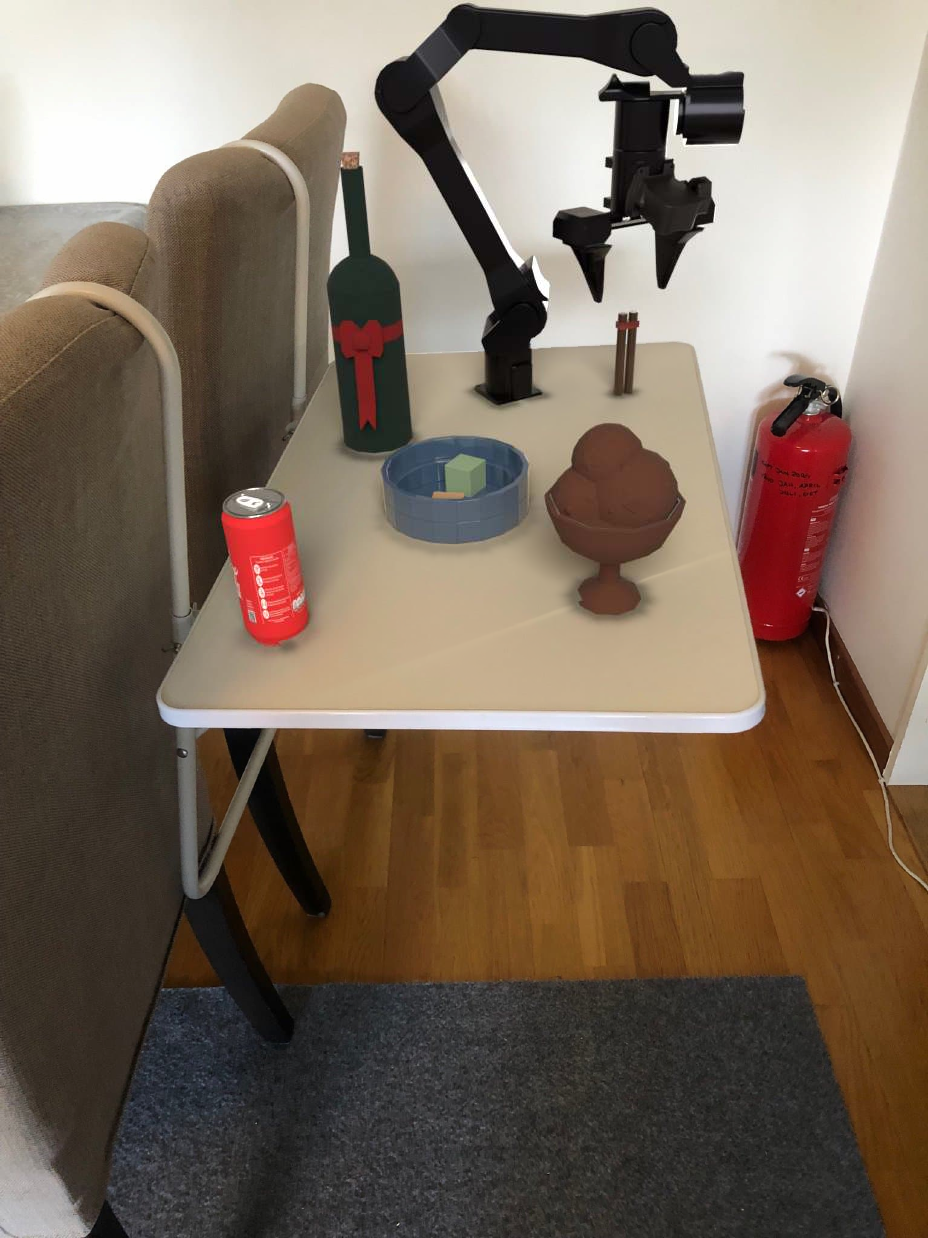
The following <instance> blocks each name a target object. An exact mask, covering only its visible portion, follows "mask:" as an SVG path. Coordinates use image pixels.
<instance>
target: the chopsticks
mask: <svg viewBox="0 0 928 1238" xmlns="http://www.w3.org/2000/svg"><path fill="white" fill-rule="evenodd" d="M640 322H641V321H640V320H639V311H638V310H636V309H631V310H629V311H628V312H626V311H620V312H617V320H615V328H616V345H615V362H614V379H613V395H615V396H621V395H623V393H624V394H633V392H634V391H633V388H634V374H635V362H636V349H637V348H636V347H637V334H638V328H640Z"/></svg>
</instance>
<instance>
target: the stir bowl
mask: <svg viewBox="0 0 928 1238" xmlns="http://www.w3.org/2000/svg"><path fill="white" fill-rule="evenodd" d="M460 454H464V455H468V456H472V457H476V458H481V459H485V461H486V487H484V488H483V489H482V490H481V491H479V492H478V493H477V494H475V495H474V496H473V497H465V498H460V499H445V498H432V496H433V493H434V492H446V479H445V465H446V464H447V463H448V462H450V461H451V460H453V459H454V458H455V457H457V456H458V455H460ZM380 478H381V479H380V480H381V486H382V487H381V488H382V497H383V498H382V499H383V508H384V514H385V517H386V521H387V522H388V523H389V525H391V526H392V527H393V528H394V529H395V531H398V532H399V533H402V534H404V535H406V536H408V537H410V538H412V539H416V540H420V541H425V542H429V543H435V544H466V543H473V542H481V541H485V540H489V539H492V538H495V537H498V536H501V535H504V534H506V533H507V532H509V531H511V530H512V529H514V528H516V527H518V526H519V525H520V524H521V523H522V521H523V520H524V519H525V518H526V517H527V516H528V514H529V507H530V462H529V460H528V458H527V456H526V455H525V453H524V452H523V451H521V450H520V449H519V448H517V447H515V446H514V445H512V444H510V443H507V442H504V441H502V440H498V439H495V438H490V437H485V436H478V435H446V436H445V435H444V436H438V437H430V438H425V439H423V440H418V441H415V442H412V443H408V444H407V445H406V446H403V447H401V448H398V449H396V450H394V452H392V454H390V455H389V456H388V457H386V458H385V460H384V462H383V464H382V466H381V469H380Z"/></svg>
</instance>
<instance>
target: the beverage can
mask: <svg viewBox="0 0 928 1238" xmlns="http://www.w3.org/2000/svg"><path fill="white" fill-rule="evenodd" d="M221 524H222V527H223V532H224V536H225V541H226V546H227V551H228V554H229V555H228V556H229V560H230V564H231V570H232V574H233V578H234V583H235V587H236V592H237V596H238V601H239V606H240V610H241V611H240V612H241V615H242V620H243V625H244V628H245V629H246V631H247V632H248V633H249V634H250V635H251V637H252V639H253V640H254V642H256V643H258V644H259V645H262V646H266V647H280V646H282V645H281V643H280V642H283V641H288V640H290V639H292V638H294V637H296V636H298V635H299V634H301V633H302V632H303V631H304V629H305V628H306V626H307V623H308V620H309V608H308V604H307V597H306V592H305V591H306V590H305V585H304V579H303V574H302V567H301V562H300V556H299V549H298V544H297V537H296V531H295V525H294V518H293V513H292V508H291V505H290V503H289V502H288V500H287V497H286V495H285V494H284V493H283V491H281V490H279V489H276V488H272V487H263V486H262V487H251V488H245V489H242V490H239V491H237V492H234V493H233V494H231V495H229V496H228V497H227V498H226V499H224V501H223V503H222V513H221Z"/></svg>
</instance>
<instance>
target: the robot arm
mask: <svg viewBox="0 0 928 1238" xmlns="http://www.w3.org/2000/svg"><path fill="white" fill-rule="evenodd" d="M678 37H679V36H678V31H677V27H676V25H675V23H674V21H673V20H672V18H671V17H670V15H669V14H667V13H666V12H664V11H663V10H660V9H659V8H658V7H657V8H656V7H652V6H641V7H632V8H626V9H618V10H612V11H605V12H599V13H592V14H591V13H589V14H576V13H565V12H564V13H563V12H553V11H552V12H551V11H540V10H539V11H538V10H527V9H526V10H525V9H515V8H514V9H513V8H502V7H501V8H500V7H490V6H479V5H477V4H475V3H471V2H463V3H460V4H458V5H456V6H454V7H452V8H451V10H450V11H449V12H448V13H447V14H446V17H445V19H444V20H443V21H442V22H441V23H440V24H439V26H437V27H436V28H435V29H434V31H432V32H431V34H429V36H428V37H427V38H426V39H424V40H423V42H422V43H421V44H420V45H419V46H418V47H417V48H416V49H415V50H414V51H413V52H412V53H410V55H402V56H401V57H399V58H396V59H395V60H392V61H391V62H389V63H387V64H386V65H385V66H384V67H383V68H382V69H381V70H380V71H379V73H378V76H377V77H376V80H375V84H374V91H373V93H374V100H375V103H376V106H377V108H378V110H379V111H380V113H381V114H382V115H383V117H384V119H386V120H387V122H388V123H389V125H390V126H391V127H392V128H393V130H394V131H395V133H397V134H398V136H399V137H400V138H401V139H402V140H403V141H404V142H405V143H406V144H407V145H408V146H409V147H410V148H411V149H412V150H413V151H414V152H415V153H416V154H417V156H418V157H419V158H420V159H421V161H422V163H423V164H424V166H425V168H426V169H427V171H428V173H429V175H430V177H431V178H432V180H433V182H434V184H435V186H436V188H437V189H438V191H439V193H440V195H441V196H442V199H443V200H444V202H445V204H446V206H447V208H448V209H449V211H450V213H451V215H452V217H453V219H454V220H455V222H456V224H457V226H458V227H459V229H460V231H461V233H462V235H463V237H464V238H465V241H466V242H467V244H468V246H469V248H470V250H471V251H472V253H473V255H474V256H475V259H476V260H477V262H478V265H479V266H480V268H481V269H482V271H483V274H484V277H485V281H486V286H487V288H488V292H489V297H490V300H491V303H492V306H493V310H492V311H491V312H490V313H489V314H488V315H487V317H486V319H485V323H484V327H483V332H482V334H481V335H482V337H481V339H480V343H481V345H482V348H483V351H484V353H483V355H484V382H483V383H478V384H475V385H474V390H475V391H476V392H477V393H479V394H480V395H482V396H483V397H485V398H486V399H488V400H490V401H491V402H492V403H494V404H496V405H498V406H502V405H506V404H510V403H514V402H519V401H523V400H526V399H530V398H534V397H539V396H542V395H543V389H541V388H540V387H537V386H536V385H534V384H533V374H534V373H533V372H534V371H533V367H534V365H533V348H532V343H531V341H532V339H535V338H536V337H537V336H539V335H540V334H541V333H542V332H543V330H544V329H545V328H546V325H547V321H548V314H549V298H550V297H549V296H550V282H549V281H548V280H547V279H545V278H544V276H543V274H542V273H541V271H540V267H539V265H538V262H537V259H536V257H535V255H531V256H530V257H529V258H527V259H526V260H525V261H524V260H523V259H522V258H521V257H520V256H519V255H518V253H516V252H515V250H514V249H513V248H512V246H511V244H510V241H509V240H508V238H507V237H506V234H505V232H504V231H503V228H502V227H501V225H500V223H499V221H498V219H497V217H496V216H495V214H494V212H493V210H492V208H491V206H490V204H489V202H488V200H487V199H486V197H485V195H484V193H483V191H482V189H481V187H480V185H479V183H478V181H477V179H476V178H475V176H474V174H473V172H472V170H471V168H470V166H469V165H468V162H467V161H466V159H465V157H464V155H463V153H462V151H461V149H460V147H459V146H458V144H457V142H456V140H455V138H454V136H453V133H452V129H451V125H450V122H449V118H448V114H447V110H446V107H445V103H444V99H443V97H442V93H441V91H440V88H439V85H438V83H440V82H441V81H442V79H443V78H444V77H445V76H446V75H447V74H448V73H449V72H450V71H451V70H452V69H453V68H454V67H455V66H456V64H458V63H459V62H460V61H461V60H462V58H463V57H464V56H465V55H466V54H467V53H468V52H469V51H472V50H479V51H492V52H503V53H515V54H528V55H538V56H539V55H540V56H551V57H562V58H563V57H564V58H576V59H583V60H586V61H588V62H592V63H596V64H598V65H601V66H604V67H606V68H607V67H608V68H610V69H613V70H617V71H620V72H623V73H627V74H630V75H634V76H637V77H642V78H648V77H649V78H650V77H654V76H655V77H657V78H658V79H659V80H661V82H663V83H664V84H666V85H667V86H668V87H670V88H672V89H680V90H651V82H650V80H636V81H635V80H634V81H622V80H621V79H620V77H619V76H618V74H617V73H615V72H614V73H612V75H611V76H610V78H609V80H608V81H607V83H605V85H604V86H603V87H602V88H601V89H599V90H598V91H597V98H598V101H599V102H601V103H611V102H614V106H615V107H614V121H613V122H614V124H613V142H612V156H605V157H604V159H605V160H604V168H606V169H610V170H611V183H610V196H605V197H603V199H602V200H603V205H602V206H603V208H605V209H608V210H609V211H601V210H598V209H594V208H592V207H587V206H578V207H571V208H565V209H559V210H558V211H557V213H556V214H555V216H554V217H553V220H552V238H554V239H556V240H560V241H561V243H562V244H563V245H566V246H568V247H570V249H571V251H572V253H573V255H574V257H575V258H576V261H577V263H578V265H579V267H580V269H581V271H582V274H583V277H584V279H585V281H586V285H587V287H588V289H589V292H590V295H591V298H592V299H593V302H595V303H597V304H602V302H603V296H604V291H605V271H606V270H605V269H606V257H607V256H608V254H609V252H610V251H611V249H612V248H613V244H611V243H608V242H607V241H608V239H609V238H610V237H611V236H612V231H614V230H620V229H624V228H632V227H637V226H643V225H647V224H649V225H650V226H651V228H652V230H653V231H654V252H655V253H654V254H655V277H656V285H657V288H658V289H659V290H665V289H667V287H668V285H669V282H670V279H671V277H672V275H673V273H674V271H675V269H676V266H677V263H678V262H679V259H680V257H681V255H682V252H683V251H684V249H685V247H686V245H687V243H688V242H689V241H690V240H691V239H692V238H694V237H695V236H697V234H699V233H702V232H704V230H705V229H706V226H704V225H710V224H714V223H715V217H716V209H717V205H716V204H715V201H714V199H713V197H712V195H713V193H712V192H713V181H711V180H710V179H709V178H708V177H707V176H705V175H702V176H696V177H692V178H690V179H689V181H688V180H687V179H683V180H679V179H678V178H676V174H675V168H676V166H675V165H676V164H675V163H674V160H675V159H674V158H672V157H668V156H667V151H668V137H669V124H670V114H671V113H670V111H671V101H673V100H675V104H674V114H673V136H674V137H680V136H681V139H682V144H683V147H707V146H709V147H710V146H737V145H739V144H740V142H741V138H742V134H743V129H744V123H745V116H746V109H744V106H745V105H744V103H745V90H744V89H745V88H744V82H745V73H744V71H741V70H738V69H737V70H727V71H724V72H719V73H716V72H715V73H692V74H691V73H690V66H689V65H688V64H687V63H685V62H683V60H682V58H681V56H680V54H679V53H678V51H677V48H678V41H679V40H678Z"/></svg>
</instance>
